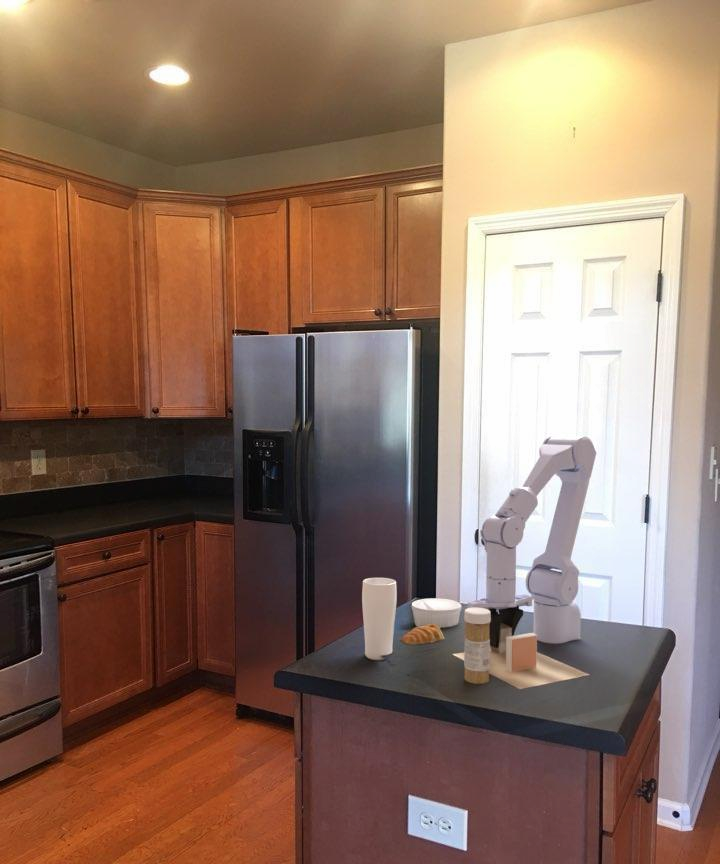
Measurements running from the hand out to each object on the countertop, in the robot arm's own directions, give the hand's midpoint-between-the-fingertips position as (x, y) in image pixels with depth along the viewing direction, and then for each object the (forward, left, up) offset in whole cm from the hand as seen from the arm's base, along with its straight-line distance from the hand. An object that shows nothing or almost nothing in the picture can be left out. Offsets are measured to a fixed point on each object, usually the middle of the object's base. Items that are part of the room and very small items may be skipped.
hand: (500, 645), depth 141 cm
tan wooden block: (0, 0, -1) cm, 1 cm away
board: (+2, +8, -2) cm, 9 cm away
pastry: (+10, -13, -3) cm, 17 cm away
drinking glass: (+22, -10, -2) cm, 24 cm away
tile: (+3, +10, -1) cm, 10 cm away
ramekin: (0, -23, -2) cm, 23 cm away
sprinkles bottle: (+14, +11, -2) cm, 18 cm away
